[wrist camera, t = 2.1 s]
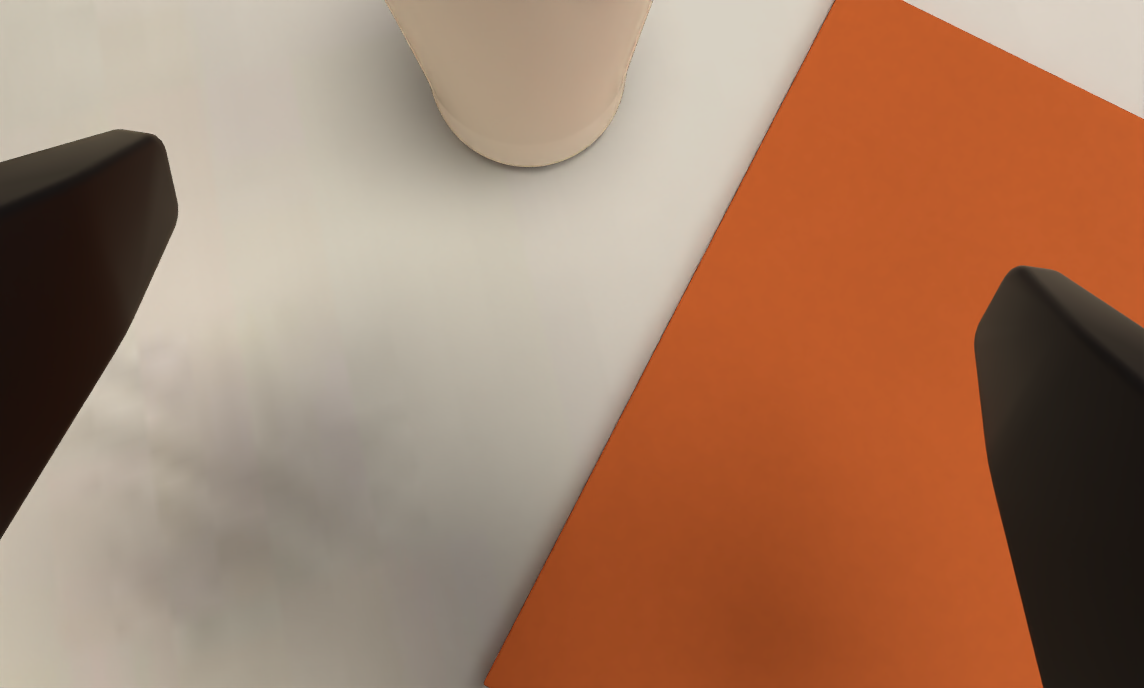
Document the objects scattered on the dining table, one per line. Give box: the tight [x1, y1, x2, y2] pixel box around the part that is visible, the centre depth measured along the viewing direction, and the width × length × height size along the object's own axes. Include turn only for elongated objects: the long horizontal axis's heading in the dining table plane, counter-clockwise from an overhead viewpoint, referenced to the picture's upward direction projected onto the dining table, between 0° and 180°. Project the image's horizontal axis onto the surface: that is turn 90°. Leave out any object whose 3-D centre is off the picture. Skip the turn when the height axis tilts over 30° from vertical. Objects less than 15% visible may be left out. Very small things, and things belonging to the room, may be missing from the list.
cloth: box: [484, 0, 1144, 688], centre depth 23 cm, size 22×13×1 cm, turn 152°
